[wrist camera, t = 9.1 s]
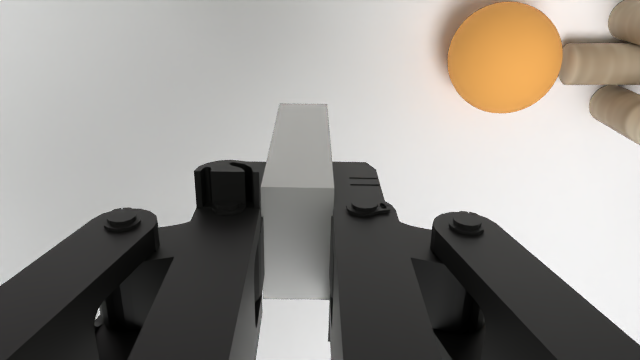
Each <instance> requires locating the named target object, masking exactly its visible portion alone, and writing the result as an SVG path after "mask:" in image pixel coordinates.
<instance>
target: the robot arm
mask: <svg viewBox="0 0 640 360" xmlns="http://www.w3.org/2000/svg"><path fill="white" fill-rule="evenodd" d="M194 177H195V191H196V204H197V208H196V210H195V212H194V215H193V217H192V219H191V221H190V222H187V223H184V224H179V225H174V226H167V227H160V228H158V223H157V217H156V215H155V214H153V213H152V212H150V211H147V210H143V209H132V208H123V209H121V208H119V209H114V210H112V211H110V212H107V213H104V214H101V215H99V216H97V217H96V218H94V219H92V220H91V221H89V222H88V223H87V224H85V225H84V226H82V227H81V228H80V229H78V230H77V231H76V232H74V233H73V234H71V235H70V236H69V237H67V238H66V239H65V240H63V241H62V242H60V243H59V244H58V245H56V246H55V247H53V248H52V249H51V250H49V251H48V252H47V253H45V254H44V255H42V256H41V257H40V258H38V259H37V260H36V261H34V262H33V263H31V264H30V265H29V266H27V267H26V268H25V269H23V270H22V271H20V272H19V273H18V274H16V275H15V276H14V277H12V278H11V279H9V280H8V281H7V282H5V283H4V284H3V285H1V286H0V360H256V353H257V346H258V339H259V332H260V325H261V318H262V288H263V299H320V300H330V306H329V333H328V341H330V346H331V360H640V345H639V344H638V343H636V342H635V341H634V340H633V339H632V338H630V337H629V336H628V335H627V334H626V333H625V332H623V331H622V330H621V329H620V328H619V327H617V326H616V325H615V324H614V323H613V322H612V321H610V320H609V319H608V318H607V317H606V316H605V315H603V314H602V313H601V312H600V311H599V310H597V309H596V308H595V307H594V306H593V305H592V304H590V303H589V302H588V301H587V300H586V299H584V298H583V297H582V296H581V295H580V294H579V293H577V292H576V291H575V290H574V289H573V288H571V287H570V286H569V285H568V284H567V283H566V282H564V281H563V280H562V279H561V278H560V277H559V276H557V275H556V274H555V273H554V272H553V271H551V270H550V269H549V268H548V267H547V266H546V265H544V264H543V263H542V262H541V261H540V260H538V259H537V258H536V257H535V256H534V255H533V254H531V253H530V252H529V251H528V250H527V249H525V248H524V247H523V246H522V245H521V244H520V243H518V242H517V241H516V240H515V239H514V238H513V237H511V236H510V235H509V234H508V233H507V232H505V231H504V230H503V229H502V228H501V227H500V226H498V225H497V224H496V223H494V222H493V221H491V220H489V219H488V218H485V217H482V216H479V215H478V214H476V213H472V212H469V213H468V212H465V211H460V212H449V213H445V214H441V215H439V216H438V217H436V218H435V219H434V222H433V226H432V230H429V229H424V228H418V227H414V226H410V225H407V224H404V223H401V222H399V220H398V216H397V213H396V210H395V209H394V208H393V206H392V205H391V204H389V203H387V202H385V200H384V197H383V193H382V190H381V186H380V183H379V179H378V176H377V172H376V169H374V168H373V167H372V166H370V165H369V164H368V163H366V162H332V155H331V144H330V132H329V120H328V109H327V104H285V103H280V105H279V109H278V114H277V118H276V122H275V127H274V131H273V135H272V140H271V144H270V149H269V153H268V157H267V162H244V161H236V160H222V161H215V162H210V163H206V164H204V165H201V166H199V167H198V168H197V169H196V170H195V171H194ZM98 308H100V314H101V315H100V316H99V317H98V318H97V319H96V320H95V317H96V314H97V311H98Z"/></svg>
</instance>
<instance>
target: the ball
mask: <svg viewBox="0 0 640 360" xmlns="http://www.w3.org/2000/svg"><path fill="white" fill-rule="evenodd" d="M562 58H563V49H562V43H561V39H560V36H559V33H558V31H557V29H556V27H555V26H554V24H553V23H552V21H551V20H550V19H549V18H548V17H547V16H546V15H545V14H544V13H542V12H541V11H540V10H538V9H536V8H534V7H532V6H529V5H527V4H523V3H518V2H500V3H495V4H491V5H488V6H486V7H484V8H481V9H479V10H478V11H476V12H474V13H473V14H472V15H471V16H469V17H468V18H467V19H466V20H465V21H464V22H463V23H462V24H461V26H460V27H459V28H458V30H457V31H456V33H455V35H454V36H453V38H452V41H451V44H450V47H449V51H448V72H449V76H450V79H451V81H452V84H453V86H454V88H455V89H456V91H457V92H458V93H459V95H460V96H461V97H462V98H463V99H464V100H465V101H466V102H468V103H469V104H471V105H472V106H474V107H476V108H478V109H480V110H483V111H486V112H491V113H510V112H516V111H519V110H522V109H525V108H527V107H529V106H531V105H532V104H534V103H536V102H537V101H538V100H540V99H541V98H542V97H543V96H544V95H545V94H546V93H547V92H548V91H549V90H550V88H551V87H552V86H553V84H554V82H555V81H556V79H557V77H558V74H559V72H560V69H561V65H562Z"/></svg>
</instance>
